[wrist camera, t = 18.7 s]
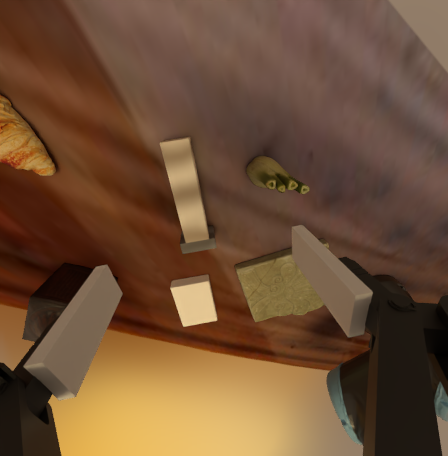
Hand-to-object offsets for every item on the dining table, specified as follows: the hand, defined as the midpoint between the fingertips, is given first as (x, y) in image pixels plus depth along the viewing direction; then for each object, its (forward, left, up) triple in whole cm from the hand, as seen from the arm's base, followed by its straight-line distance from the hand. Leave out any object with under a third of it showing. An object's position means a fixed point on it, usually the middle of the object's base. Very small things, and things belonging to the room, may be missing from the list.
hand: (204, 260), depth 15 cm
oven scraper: (-1, +2, -24) cm, 24 cm away
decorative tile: (-27, -15, -24) cm, 39 cm away
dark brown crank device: (-16, +26, -24) cm, 38 cm away
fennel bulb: (0, -11, -24) cm, 26 cm away
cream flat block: (-20, +6, -23) cm, 31 cm away
